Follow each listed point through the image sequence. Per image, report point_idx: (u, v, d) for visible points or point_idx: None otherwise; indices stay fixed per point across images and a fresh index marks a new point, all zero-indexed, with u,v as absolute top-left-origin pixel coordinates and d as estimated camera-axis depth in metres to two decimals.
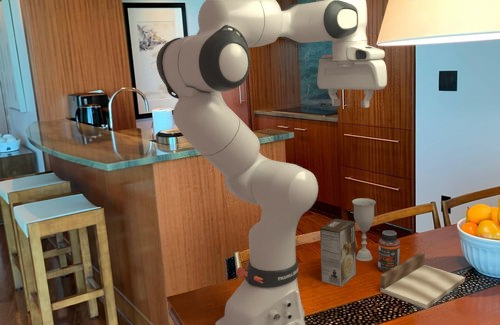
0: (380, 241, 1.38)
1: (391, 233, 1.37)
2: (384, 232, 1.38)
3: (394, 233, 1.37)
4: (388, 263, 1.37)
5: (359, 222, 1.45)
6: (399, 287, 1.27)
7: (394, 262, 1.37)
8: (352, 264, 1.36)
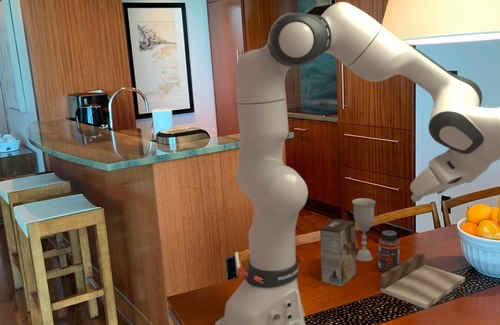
0: (380, 241, 1.38)
1: (391, 233, 1.37)
2: (384, 232, 1.38)
3: (394, 233, 1.37)
4: (388, 263, 1.37)
5: (359, 222, 1.45)
6: (399, 287, 1.27)
7: (394, 262, 1.37)
8: (352, 264, 1.36)
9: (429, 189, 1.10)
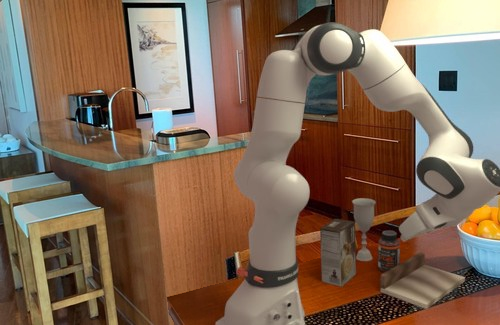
0: (380, 241, 1.38)
1: (391, 233, 1.37)
2: (384, 232, 1.38)
3: (394, 233, 1.37)
4: (388, 263, 1.37)
5: (359, 222, 1.45)
6: (399, 287, 1.27)
7: (394, 262, 1.37)
8: (352, 264, 1.36)
9: (416, 233, 1.17)
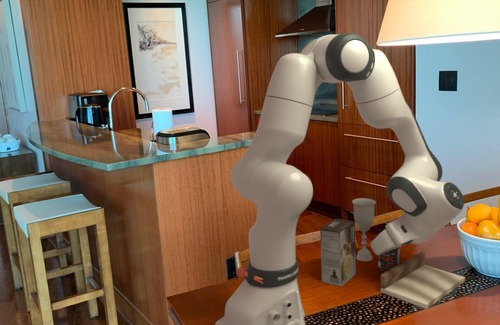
0: None
1: None
2: None
3: None
4: (388, 263, 1.37)
5: (359, 222, 1.45)
6: (399, 287, 1.27)
7: (394, 262, 1.37)
8: (352, 264, 1.36)
9: (385, 249, 1.27)
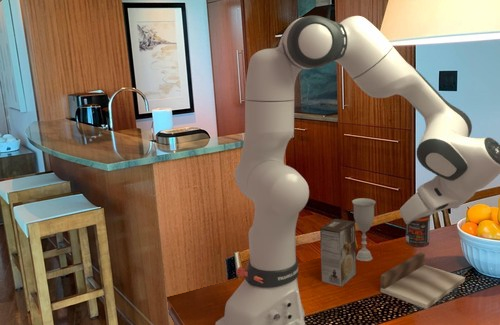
0: None
1: None
2: None
3: None
4: (417, 236, 1.25)
5: (359, 222, 1.45)
6: (399, 287, 1.27)
7: (424, 235, 1.25)
8: (352, 264, 1.36)
9: (417, 215, 1.15)
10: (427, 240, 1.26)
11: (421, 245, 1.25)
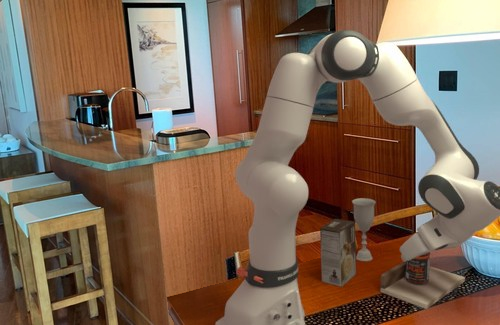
0: None
1: None
2: None
3: None
4: (417, 274, 1.27)
5: (359, 222, 1.45)
6: (399, 287, 1.27)
7: (424, 273, 1.27)
8: (352, 264, 1.36)
9: (417, 254, 1.16)
10: (427, 277, 1.28)
11: (421, 282, 1.27)
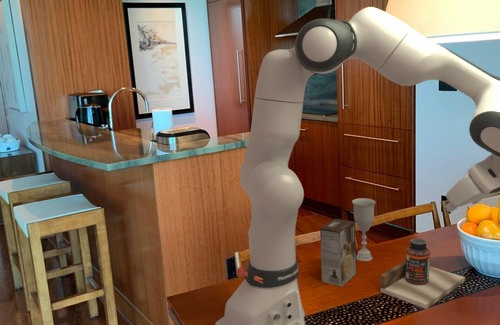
0: (408, 250, 1.28)
1: (421, 242, 1.27)
2: (413, 240, 1.28)
3: (424, 242, 1.27)
4: (417, 274, 1.27)
5: (359, 222, 1.45)
6: (399, 287, 1.27)
7: (424, 273, 1.27)
8: (352, 264, 1.36)
9: (468, 198, 1.02)
10: (427, 277, 1.28)
11: (421, 282, 1.27)
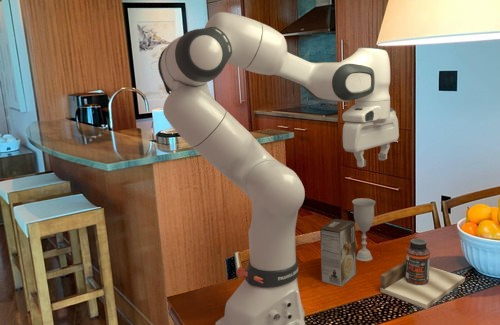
0: (408, 250, 1.28)
1: (421, 242, 1.27)
2: (413, 240, 1.28)
3: (424, 242, 1.27)
4: (417, 274, 1.27)
5: (359, 222, 1.45)
6: (399, 287, 1.27)
7: (424, 273, 1.27)
8: (352, 264, 1.36)
9: (355, 134, 1.19)
10: (427, 277, 1.28)
11: (421, 282, 1.27)
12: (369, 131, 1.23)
